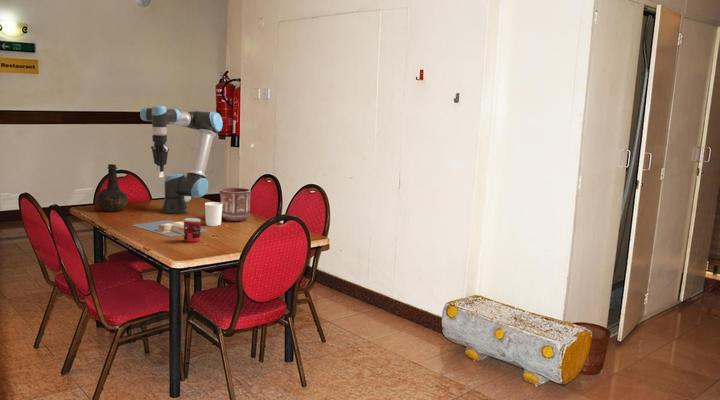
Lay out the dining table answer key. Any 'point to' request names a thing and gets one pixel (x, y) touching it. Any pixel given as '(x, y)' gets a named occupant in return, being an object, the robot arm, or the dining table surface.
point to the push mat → (154, 228)
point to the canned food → (192, 230)
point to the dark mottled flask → (112, 193)
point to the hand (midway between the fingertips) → (160, 177)
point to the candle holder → (213, 213)
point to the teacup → (187, 198)
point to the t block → (172, 227)
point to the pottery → (235, 203)
